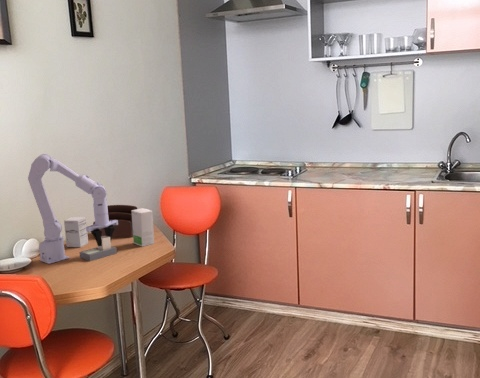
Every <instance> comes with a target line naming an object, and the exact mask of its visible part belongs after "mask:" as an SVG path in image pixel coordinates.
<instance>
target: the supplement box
mask: <svg viewBox="0 0 480 378" xmlns="http://www.w3.org/2000/svg"><path fill="white" fill-rule="evenodd" d="M63 224H64V234H65V244H66V245H65V246H66V247H67V248H83V247H84V246H86V245H88V244H89V237H88V232H87V231H86V227H88V225H87V217H86V216H71V217H69V218H66V219H65V220H63Z"/></svg>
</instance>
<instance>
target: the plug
mask: <svg viewBox="0 0 480 378" xmlns="http://www.w3.org/2000/svg"><path fill="white" fill-rule="evenodd" d="M101 241H102V246H98V245H97V247H98V250H102V251H103V250H106V249H110V248H111V246H112V239H111V240H110V237H108V236H102V237H101Z"/></svg>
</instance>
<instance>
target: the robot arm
mask: <svg viewBox="0 0 480 378" xmlns="http://www.w3.org/2000/svg"><path fill="white" fill-rule="evenodd" d="M49 169H50V170H49ZM47 171H49V172H58V173H60V174H61V175H63V176H65V177H66V178H69V179H70V180H72V181H73V182H75V183H74V184H75V187H77V188H79V189H80V190H82V191H83V192H85V193H87V194H88V195H91V197H92V199H93V200H92V201H93V206H92V207H93V214H94V215H93V216H94V222H95V224H93V223H92V224H91V225H89V226H88V225H87V227H86V231H87V233H91V234H92V235H93V238H94V240H95V241H96V245H97V247H98V246H102V241H101V234H102V231H100V230H99V229H101V228H104V230H105V234H106V236H108V237H110V240H111V241H112V239H113V237H112V234H113V232H114V230H115V227H114V226H113V225H118V220H112V221H109V217H108V207H107V206H108V202H107V190H106V188H105V186H104V185H103V184H100V182H99V181H97V182H96V181H94V180H93V179H91V178H90V175H89V174H78V173H77V172H75V171H74V170H73V169H71V168H70V167H68V166H67V165H65V164H64V163H63V162H61V161H59V160H58V159H56V158H54V157H51V156H50V155H48V154H46V153H45V154H44V153H42V154H40V155H39V156H37V157H36V158H35V159H34V160H33V161H32V162H31V166H30V169H29V172H28V176H27V181H28V183H29V186H30V189H31V192H32V194H33V197H34V200H35V203H36V205H37V208H38V211H39V213H40V216H41V219H42V225H43V228H44V230H43V236H44V237H45V238H44V240H43V241H40V242H39V245H38V250H39V257H40V259H39V261H40V262H43V263H45V264H49V265H51V264H53V263H57V262H61V261H64V260H67V259H70V256H68V255H66V252H65V242H64V236H63V235H62V233H61V232H62V230H63V227H62V226H63V225H62V224H61V222H59V221H58V219H57V216H56V215H55V214H54V211H53V208H52V205H51V202H50V200H49V197H48V194H47V192H46V189H45V187H44V186H45V185H44V183H43V180H42V178H43V177H44V175H45V174H46V172H47Z"/></svg>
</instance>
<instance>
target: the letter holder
mask: <svg viewBox="0 0 480 378" xmlns="http://www.w3.org/2000/svg"><path fill="white" fill-rule="evenodd" d="M107 207H108V217H109V221H112V220H118V225H113V226H114V227H115V230H114V232H113V234H112V238H133V228H132V212H131V210H136V209H138V207H137V206H136V205H129V204H127V205H126V204H112V205H111V204H110V205H108V204H107ZM93 224H95V221H93V223H92V225H93ZM99 230H100V231H102V234H101V237H102V236H106V234H105V230H104V228H101V229H99Z"/></svg>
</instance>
